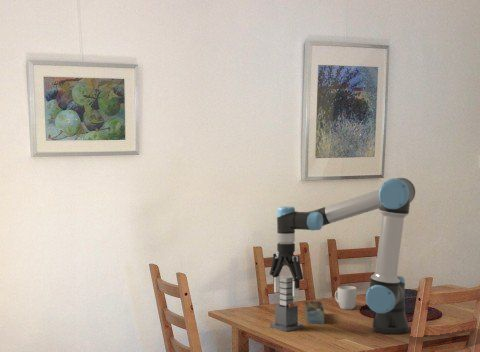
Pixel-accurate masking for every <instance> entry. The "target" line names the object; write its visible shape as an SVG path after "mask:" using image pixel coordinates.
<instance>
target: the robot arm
mask: <svg viewBox="0 0 480 352" xmlns="http://www.w3.org/2000/svg"><path fill="white" fill-rule="evenodd" d="M415 197H416V188H415V185H414V183H413V182H412V181H411V180H409V179H408V178H405V177H397V178H395V177H393V178H390V179H388V180H386V181H384V183H382V184H381V186H380V188H379V189H377V190H373V191H370V192H367V193H364V194H361V195H359V196H355V197H352V198H348V199H345V200H342V201H339V202H336V203H333V204H330V205H328V206H323V207H321V208H317V209H314V210H311V211H296V210H295V209H296V208H295V206H279V207H278V208H277V211H276V212H277V215H276V223H277V224H276V227H277V229H276V231H277V233H276V236H277V237H276V242H277V249H276V251H277V253H273V255H272V257H273V259H272V263H271V267H270V271H269V275H270V276H272V277H273V290H274V291H273V292H274V293H280V288H279V287H280V282H279V281H280V277H281V276H280V273H281V272H282V269H283V267H284V266H287V268H288V269H289V271H290V273H291V277H293V297H298V296H300V294H299V292H300V291H299V289H300V281H301V280H303V279H304V275H303V272H302V267H301V263H300V256H299V255H297V256H295V254H294V253H295V252H296V243H295V242H296V240H295V239H296V236H295V235H296V230H304V231H305V230H306V231H320V230H321V229H323V227H324V226H327V225H330V224H333V223H336V222H339V221H343V220H345V219H348V218H352V217H356V216H359V215H362V214H365V213H368V212H371V211H375V210H378V211H379V212H380V213H381V215H382V216H381V223H380V230H379V231H380V232H379V240H378V247H377V248H378V249H377V256H376V263H375V271H374V273H373V274H372V275H371V276H370V279H369V288H367V291H366V294H365V303H366V305H367V307H369V309H370V310H371V311H373V312H374V313H375V314H374V317H373V321H372V324H371V325H372V328H371V329H372V331H374V332H377V333H381V334H389V335H391V334H392V335H398V334H400V335H401V334H406V333H408V332H409V331H410V325H409V323H408V320H407V315H406V310H405V309H406V308H405V300H406V299H405V297H406V296H405V295H406V293H405V292H406V291H405V290H406V288H405V287H406V283H405V278H404V276H401V275H398V266H399V262H400V261H399V260H400V252H401V245H402V237H403V229H404V222H405V221H404V220H405V218H406V217H407V216H408V215H409V213H410V205H411V203H412V202H413V200H414V199H415Z"/></svg>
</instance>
